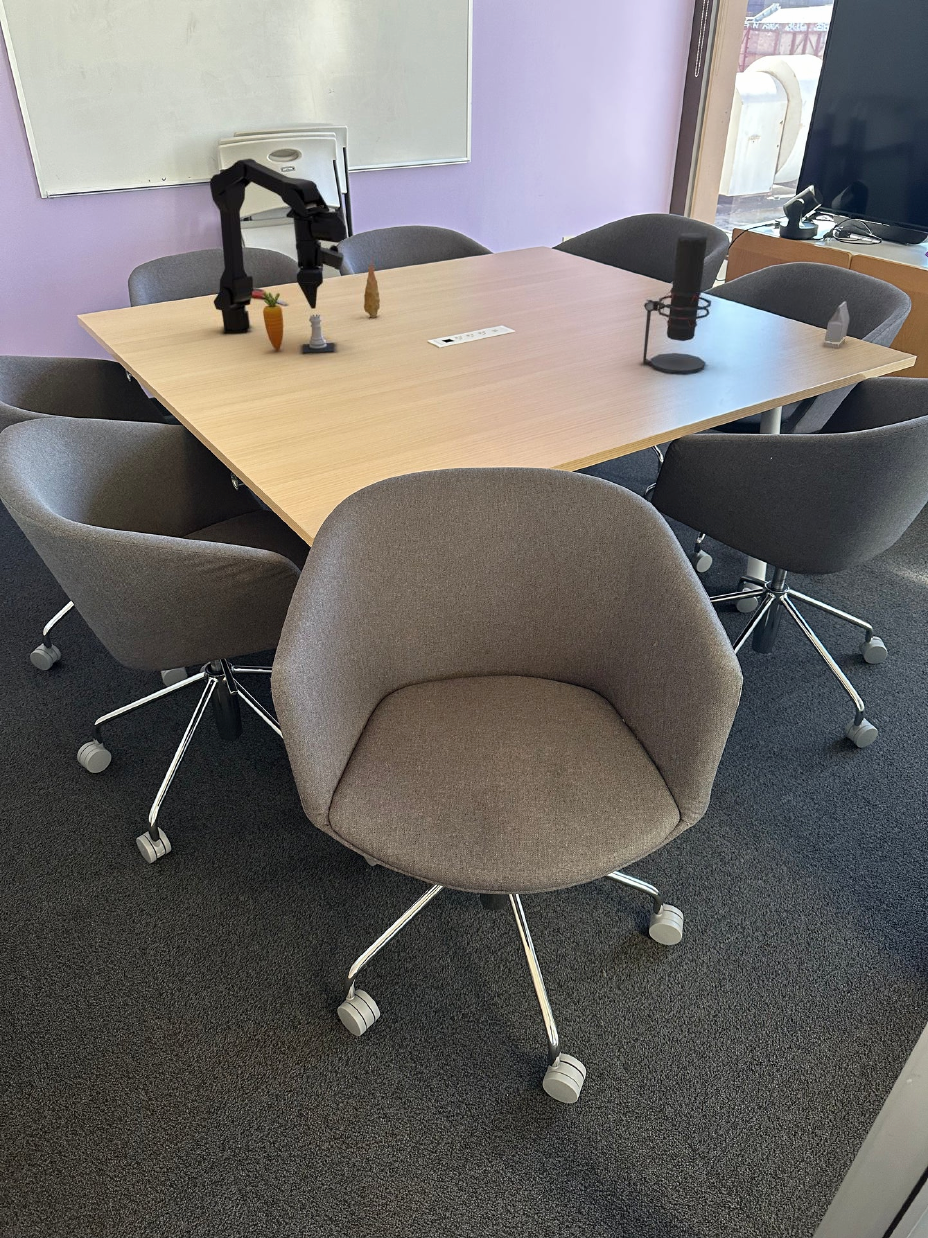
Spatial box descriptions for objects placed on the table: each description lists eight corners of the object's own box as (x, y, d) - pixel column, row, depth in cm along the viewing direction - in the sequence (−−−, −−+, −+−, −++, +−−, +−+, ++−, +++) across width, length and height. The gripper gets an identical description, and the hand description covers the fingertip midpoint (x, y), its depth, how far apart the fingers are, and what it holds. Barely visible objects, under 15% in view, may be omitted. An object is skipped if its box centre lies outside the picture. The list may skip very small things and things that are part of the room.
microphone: (668, 378, 213) (684, 243, 196) (634, 362, 222) (646, 232, 206) (716, 368, 218) (735, 236, 201) (680, 353, 228) (696, 226, 211)
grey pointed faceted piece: (844, 341, 235) (853, 302, 229) (838, 348, 230) (846, 308, 224) (830, 339, 236) (838, 300, 231) (823, 346, 232) (831, 306, 226)
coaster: (302, 353, 231) (302, 352, 231) (303, 345, 237) (303, 344, 237) (334, 352, 232) (333, 350, 232) (333, 344, 238) (333, 342, 238)
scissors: (285, 305, 270) (284, 300, 269) (234, 296, 279) (233, 291, 279) (302, 299, 275) (301, 294, 275) (251, 291, 285) (251, 286, 284)
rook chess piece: (330, 345, 235) (327, 314, 231) (320, 350, 232) (317, 319, 227) (315, 343, 237) (312, 312, 232) (306, 348, 233) (302, 317, 229)
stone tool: (369, 320, 256) (366, 264, 248) (364, 318, 257) (360, 263, 249) (382, 316, 259) (378, 261, 251) (376, 314, 261) (372, 260, 252)
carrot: (290, 348, 235) (283, 289, 226) (281, 354, 231) (274, 294, 222) (273, 347, 236) (266, 287, 228) (264, 352, 232) (256, 292, 224)
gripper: (340, 245, 214) (346, 312, 223) (339, 229, 229) (344, 292, 238) (293, 246, 213) (300, 314, 221) (295, 231, 228) (302, 294, 237)
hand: (313, 303), depth 229 cm, fingers open, 9 cm apart
